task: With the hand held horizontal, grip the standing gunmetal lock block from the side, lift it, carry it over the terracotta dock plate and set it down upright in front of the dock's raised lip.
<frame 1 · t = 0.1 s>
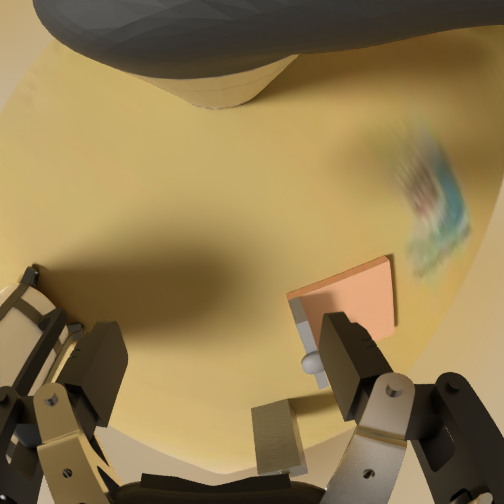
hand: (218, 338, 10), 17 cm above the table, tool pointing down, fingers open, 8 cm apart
dock: (345, 313, 33), on the table
coffee press: (43, 305, 29), on the table
lock block: (273, 410, 41), on the table
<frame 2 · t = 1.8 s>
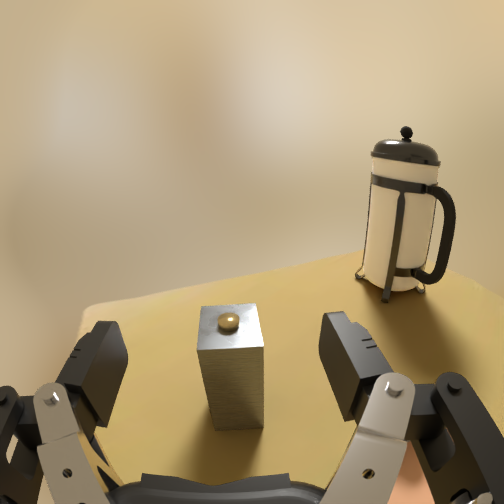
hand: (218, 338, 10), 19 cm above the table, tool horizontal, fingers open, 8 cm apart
dock: (419, 482, 16), on the table
coffee press: (394, 288, 50), on the table
lock block: (237, 407, 28), on the table
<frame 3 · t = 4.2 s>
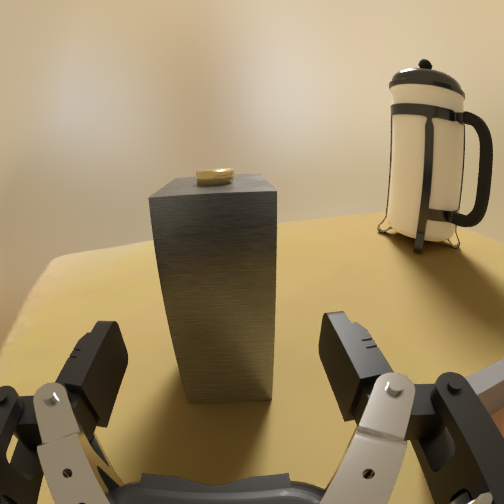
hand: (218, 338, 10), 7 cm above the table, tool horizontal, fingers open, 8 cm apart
coffee press: (424, 242, 40), on the table
lock block: (228, 368, 18), on the table
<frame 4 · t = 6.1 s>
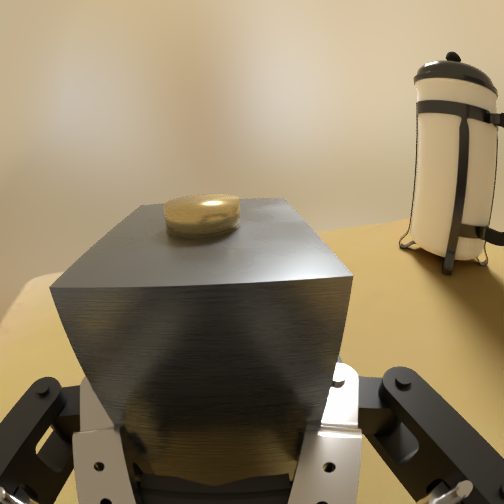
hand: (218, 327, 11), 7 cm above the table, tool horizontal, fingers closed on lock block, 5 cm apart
coffee press: (450, 260, 33), on the table
lock block: (233, 461, 11), on the table, touching gripper
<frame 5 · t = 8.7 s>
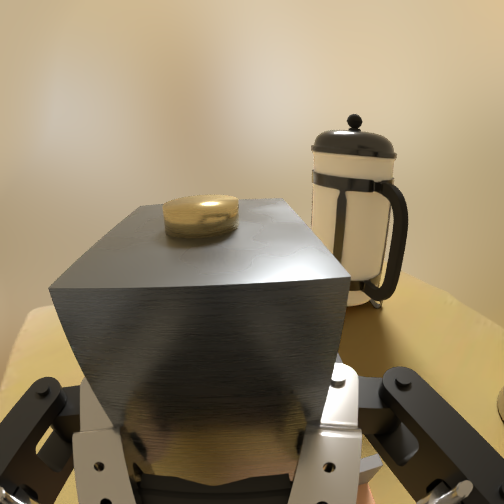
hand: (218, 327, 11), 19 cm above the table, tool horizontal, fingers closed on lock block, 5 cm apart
coffee press: (345, 301, 46), on the table
lock block: (232, 461, 11), point 11 cm above the table, touching gripper
when the fingers open (9 cm above the table, at t = 11.4 s): lock block drops 1 cm, resting on dock.
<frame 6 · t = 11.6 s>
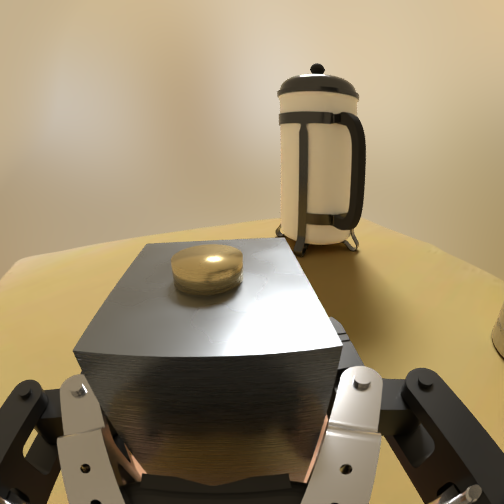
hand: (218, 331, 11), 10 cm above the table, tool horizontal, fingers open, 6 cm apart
dock: (235, 478, 12), on the table
coffee press: (320, 245, 47), on the table
lock block: (235, 474, 12), point 1 cm above the table, touching dock
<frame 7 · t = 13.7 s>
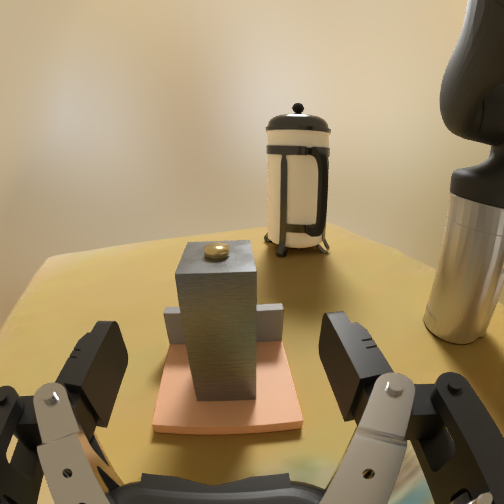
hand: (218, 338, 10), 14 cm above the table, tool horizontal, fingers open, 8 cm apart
dock: (226, 383, 25), on the table
coffee press: (299, 249, 60), on the table
lock block: (226, 376, 24), point 1 cm above the table, touching dock
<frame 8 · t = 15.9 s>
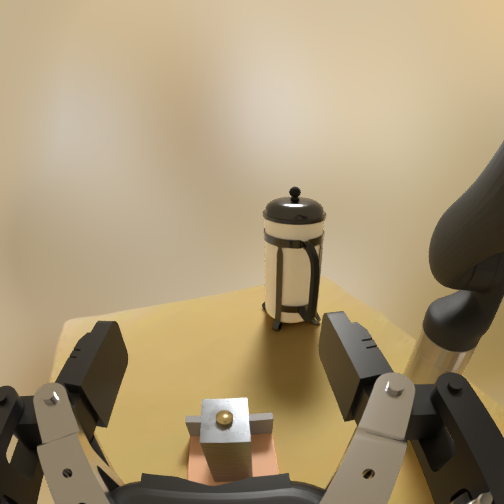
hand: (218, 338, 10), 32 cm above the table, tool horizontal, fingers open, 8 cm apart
dock: (232, 465, 31), on the table
coffee press: (293, 318, 65), on the table
lock block: (232, 463, 30), point 1 cm above the table, touching dock
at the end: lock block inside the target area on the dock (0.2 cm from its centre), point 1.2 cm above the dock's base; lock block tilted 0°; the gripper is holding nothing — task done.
